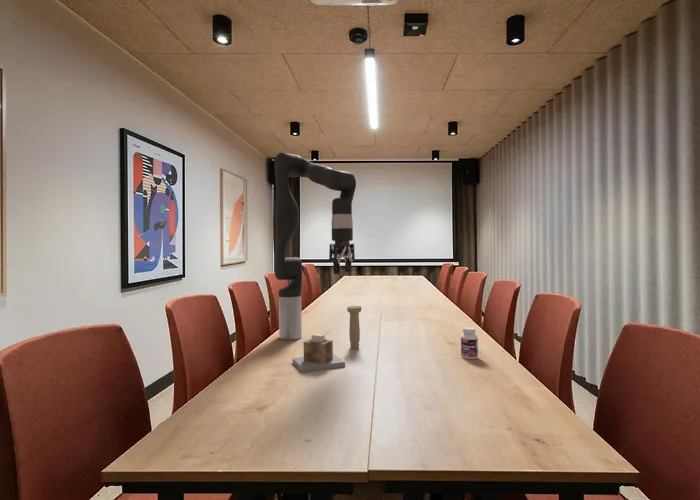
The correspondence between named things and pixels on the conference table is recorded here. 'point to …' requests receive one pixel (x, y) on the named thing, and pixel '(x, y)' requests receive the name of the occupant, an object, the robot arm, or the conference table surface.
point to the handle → (354, 325)
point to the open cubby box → (318, 351)
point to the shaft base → (312, 366)
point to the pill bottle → (469, 343)
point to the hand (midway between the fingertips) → (342, 273)
